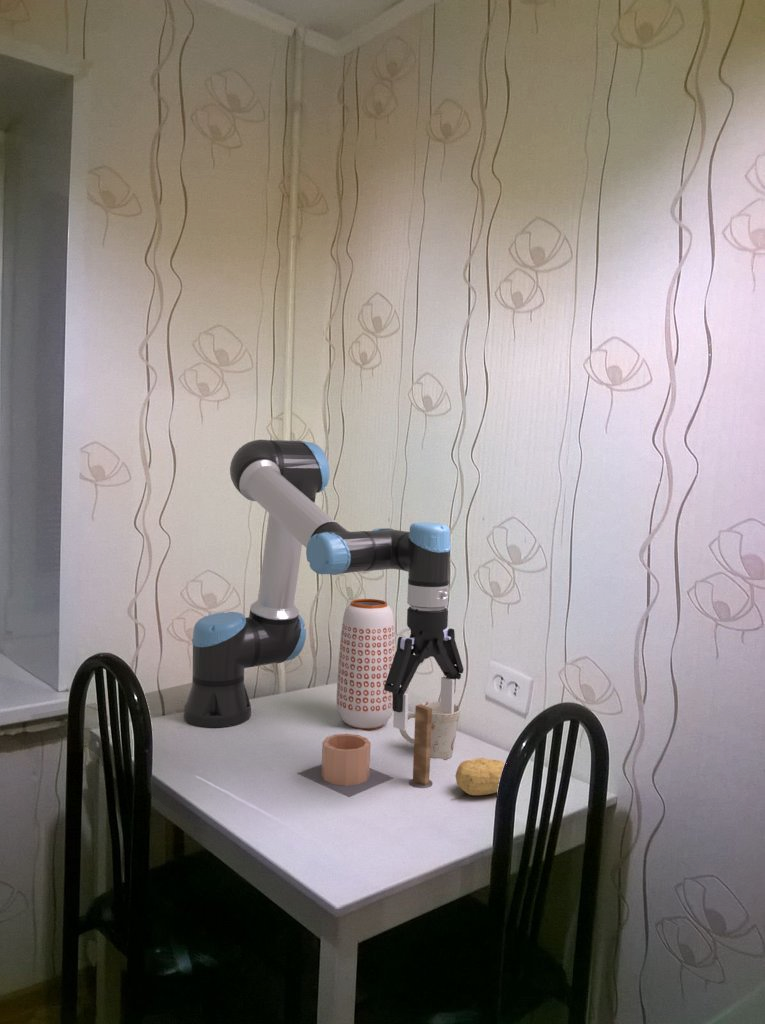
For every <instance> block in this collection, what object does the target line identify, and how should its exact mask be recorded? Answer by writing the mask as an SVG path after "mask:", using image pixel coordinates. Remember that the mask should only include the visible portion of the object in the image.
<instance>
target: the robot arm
mask: <svg viewBox="0 0 765 1024" xmlns="http://www.w3.org/2000/svg"><path fill="white" fill-rule="evenodd" d="M329 464H330V463H329V460H328V458H327V456H326V453H325V451H324V450H323V449H322V447H320V446H319V445H318V444H316V443H314V442H309V441H302V440H284V439H283V440H282V439H281V440H279V439H274V440H273V439H256V440H252V441H250V442H249V441H248V442H246V443H245V444H243V445H242V446H241V447H239V448H238V449H237V450H236V452H235V453H234V455H233V457H232V459H231V462H230V465H229V475H230V479H231V482H232V484H233V486H234V488H235V489H236V490H237V492H239V493H240V494H241V495H242V496H243V497H244V498H245V499H246V500H248V501H251V502H256V503H258V505H259V506H261V507H262V508H263V509H264V510H265V511H266V512H267V513H268V518H267V527H266V533H265V534H266V535H265V542H264V548H263V549H264V550H263V557H262V563H261V564H262V565H261V572H260V580H259V589H258V595H257V600H256V601H254V602H253V603H252V604H251V605H250V607H249V615H248V616H247V617H246V616H245V615H244V614H243V613H242V612H236V611H228V612H218V613H213V614H208V615H206V616H203V617H201V618H200V619H199V620H197V621H196V622H195V624H194V626H193V633H192V639H191V641H192V678H191V679H192V685H191V688H190V690H189V693H188V696H187V700H186V703H185V705H184V708H183V719H184V721H185V722H186V723H188V724H190V725H193V726H197V727H203V728H223V727H225V728H226V727H230V726H231V727H232V726H236V725H239V724H242V723H245V722H247V721H248V720H249V719H250V718H251V717H252V704H251V702H250V698H249V696H248V692H247V689H246V684H245V669H247V668H248V669H249V668H254V667H259V666H266V665H273V664H282V663H285V662H287V661H291V660H294V659H295V658H296V657H298V656H299V654H301V652H302V651H303V649H304V647H305V643H306V638H307V636H306V635H307V629H306V628H305V625H306V624H305V621H304V619H303V617H302V616H301V615H300V610H299V608H298V607H297V606H296V605H295V599H296V598H295V596H296V591H297V590H296V589H297V584H298V577H299V569H300V563H301V555H302V548H303V547H305V548H306V549H305V554H306V561H307V562H309V568H310V569H311V570H312V571H313V572H314V573H316V574H318V575H332V576H336V575H341V574H348V573H349V574H351V573H358V572H359V573H360V572H372V571H382V570H385V571H386V570H397V571H404V572H408V579H407V601H406V602H407V605H408V608H407V609H406V610H407V613H406V614H407V615H406V626H407V627H408V628H409V630H410V633H409V637H404V636H399V637H398V638H397V642H396V645H397V646H396V649H395V656H394V659H393V662H392V665H391V668H390V671H389V674H388V677H387V680H386V683H385V686H384V690H386V691H389V692H392V694H393V704H392V709H393V724H392V725H393V728H396V729H401V730H404V731H405V730H406V731H408V721H409V720H408V712H409V693H406V692H407V689H408V688H409V685H410V683H411V682H412V680H413V678H414V676H415V674H416V672H417V670H418V668H419V666H420V664H421V663H424V661H425V660H426V659H429V658H434V660H435V661H436V664H437V665H438V667H439V669H440V670H441V672H442V673H443V675H444V676H442V677H440V678H441V679H440V701H441V703H440V711H443V712H447V713H450V714H452V713H454V704H455V693H456V680H461V678H462V674H463V673H464V666H463V662H462V659H461V656H460V652H459V650H458V645H457V643H456V639H455V638H456V637H455V635H456V634H455V629H454V628H451V627H448V625H449V620H448V619H449V610H448V609H447V608H446V607H448V606H449V584H450V582H449V581H450V561H451V560H450V559H451V549H452V546H451V533H450V532H451V530H450V528H449V526H448V525H447V524H444V523H440V522H436V523H435V522H414V523H412V524H411V525H410V526H409V531H404V530H399V529H393V528H390V527H386V528H385V527H384V528H379V527H378V528H374V529H372V530H365V531H363V530H362V531H361V530H360V531H357V530H356V531H349V530H347V529H346V528H345V527H343V526H342V525H340V524H339V523H338V522H337V521H336V520H335V519H333V518H332V517H331V516H330V515H329V514H328V513H327V512H325V511H324V510H323V509H322V508H321V507H320V506H318V505H317V504H316V498H317V497H316V496H317V494H318V493H320V492H322V491H324V490H325V489H326V487H327V486H328V484H329V480H330V465H329ZM392 684H393V685H392Z"/></svg>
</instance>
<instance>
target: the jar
mask: <svg viewBox="0 0 765 1024" xmlns="http://www.w3.org/2000/svg"><path fill="white" fill-rule="evenodd" d="M321 744H322V749H321V751H322V752H321V764H322V777H323V779H324V780H325V781H327V782H329V783H332V784H336V785H343V786H348V785H358V784H360V783H363V782H365V781H367V779H368V777H369V775H370V768H371V767H370V766H371V746H372V745H371V741H370V740H369V738H367V737H365V736H362V735H359V734H353V733H340V734H339V733H338V734H337V733H336V734H333V735H330V736H329V735H328V736H327V737H325V738H324V739H323V741H322V743H321Z"/></svg>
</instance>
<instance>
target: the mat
mask: <svg viewBox="0 0 765 1024" xmlns="http://www.w3.org/2000/svg"><path fill="white" fill-rule="evenodd" d="M297 775H300V776H302V777H304V778H307V779H309V780H311V781H312V782H315V783H318V784H319V785H322V786H324V787H326V788H328V789H331V790H333V791H335V792H337V793H339V794H341V795H343V796H346V797H348V798H351V797H353V796H355V795H357V794H360V793H362V792H365V791H367V790H369V789H372V788H374V787H376V786H379V785H381V784H383V783H385V782H389V781H391V780H392V779H394V777H393V776H390V775H388V774H386V773H383V772H380V771H378V770H376V769H373V768H371V767H370V775H369V777H368V779H367V781H365V782H363V783H360V784H358V785H348V786H343V785H336V784H332V783H329V782H327V781H325V780H324V779H323V777H322V763H321V764H319V765H315V766H313V767H310V768H308V769H305V770H302V771H300V772H298V773H297Z"/></svg>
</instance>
